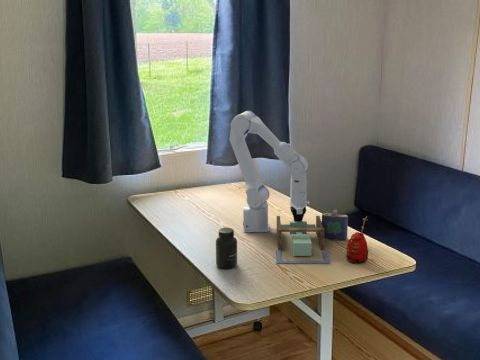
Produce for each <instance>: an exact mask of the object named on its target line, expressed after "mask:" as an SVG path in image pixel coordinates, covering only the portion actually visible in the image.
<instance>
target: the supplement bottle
mask: <svg viewBox="0 0 480 360" xmlns="http://www.w3.org/2000/svg"><path fill="white" fill-rule="evenodd" d="M215 264H216V265H215V266H216V267H217V268H219V269H222V270H231V269H234V268H236V267H237V265H238V240H237V238H236V237H235V229H233V228H232V227H222V228H220V229H218V237H217V238H216V239H215Z"/></svg>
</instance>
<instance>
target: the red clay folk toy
mask: <svg viewBox="0 0 480 360" xmlns="http://www.w3.org/2000/svg"><path fill="white" fill-rule="evenodd" d="M367 218H368V216H367V215H366V217H364V218H362V221H363V223H362V226H361V231H360V232H359V231H355V232H354V233H353V234H351V236H350V239H347V245H346V253H345V254H346V257H345V258H346V260H347V261H349V262H350V263H352V264H355V263H357V264H360V263H363V262H365V261H367V260H368V258H369V249H368V243H367V240H366V237H365V235H364V233H363V230H364V228H365V226H364V225H365V222H366V221H368V220H369V219H367Z"/></svg>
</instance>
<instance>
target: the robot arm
mask: <svg viewBox="0 0 480 360" xmlns="http://www.w3.org/2000/svg"><path fill="white" fill-rule="evenodd" d="M229 125H230V131H229V142H230V145H231V148H232V151H233V153H234V156H235V158H236V161H237V164H238V167H239V169H240V171H241V175H242V177H243V179H244V182H245V194H246V204H247V205H243V208H242V209H243V213H242V214H243V216H242V217H243V218H242V219H243V220H242V226H243V233H270V223H269V205H268V200H269V198H270V196H271V195H270V194H271V193H270V190H269V189H268V187H266V186H265V184H264V181H263V180H261V179H260V177H259V174H258V171H257V168H256V167H255V164H254V161H253V159H252V156H251V153H250V150H249V148H248V145H247V142H246V137H247V136H248V134H255V135H256V134H257V135H258V136H259V137H260V138H261V139H263V140H264V141H265V142H266V143H267V144H268V145H269V146H270V147H271V148H272V149H273V153H274V155H275V156H276V157H277V158H278V159H279V160H280V161H281V162H283V164H285V166H286V167H288V172H289V174H290V193H289V194H290V196H289V198H290V202H289V205H290V208H289V209H290V213H291V215H292V217H293V221H303V219H304V216H305V214H306V213H307V206H310V205H311V204H310V201H307V187H308V186H307V182H308V181H307V170H308V167H309V162H308V159H306V157H305V156H302V155H301V154H300V153H298V152H296V150H294V149H293V147H292V144H291V143H287V142H285V141H280V140H279V138H278V137H276V135H275V134H274V133H273V132H272V131H271V130H270V129H269V128H268V127H267V126H266V124H265V123H264V122H263V121H262V119H261V118H260V117H258V115H256V114H255V113H254V112H253V111H251V110H246V111H243V112H242V113H240V114H236V115H235V116H234V117H233V119H231V122H230V124H229Z"/></svg>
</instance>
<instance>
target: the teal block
mask: <svg viewBox="0 0 480 360" xmlns="http://www.w3.org/2000/svg"><path fill="white" fill-rule="evenodd" d="M289 224H290V228H307V224H308V222H307V221H305V220H304V221H303V220H302V221H294V220H293V221H291V220H290V221H289ZM289 235H291V250H292V256H293V257H312V240H311V235H310V234H309V233H308V232H289Z"/></svg>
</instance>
